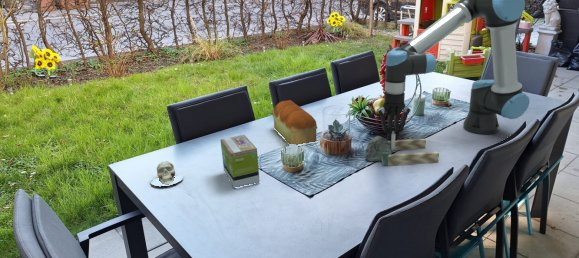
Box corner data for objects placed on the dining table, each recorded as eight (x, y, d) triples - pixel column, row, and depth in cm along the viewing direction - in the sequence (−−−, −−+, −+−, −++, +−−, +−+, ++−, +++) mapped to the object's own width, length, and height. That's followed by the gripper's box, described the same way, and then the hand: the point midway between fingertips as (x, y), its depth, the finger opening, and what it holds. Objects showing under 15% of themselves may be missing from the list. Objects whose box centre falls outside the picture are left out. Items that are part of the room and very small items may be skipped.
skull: (186, 183, 156) (164, 167, 152) (167, 202, 157) (144, 187, 153) (185, 168, 167) (164, 153, 162) (167, 186, 168) (146, 172, 163)
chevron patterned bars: (424, 147, 181) (425, 135, 179) (438, 162, 166) (439, 150, 164) (373, 150, 180) (373, 138, 178) (383, 166, 165) (383, 153, 163)
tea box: (223, 173, 165) (219, 138, 159) (247, 168, 168) (245, 133, 163) (234, 190, 152) (230, 152, 146) (260, 184, 155) (258, 147, 150)
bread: (317, 143, 189) (317, 112, 184) (291, 148, 185) (290, 116, 180) (297, 126, 211) (296, 97, 206) (273, 130, 207) (271, 101, 202)
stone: (380, 139, 164) (382, 129, 173) (360, 153, 168) (363, 143, 177) (396, 157, 165) (397, 147, 174) (375, 170, 169) (377, 160, 178)
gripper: (408, 88, 167) (404, 143, 175) (375, 90, 166) (373, 145, 174) (414, 93, 160) (410, 150, 168) (380, 95, 159) (378, 152, 167)
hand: (391, 147), depth 171 cm, fingers closed
